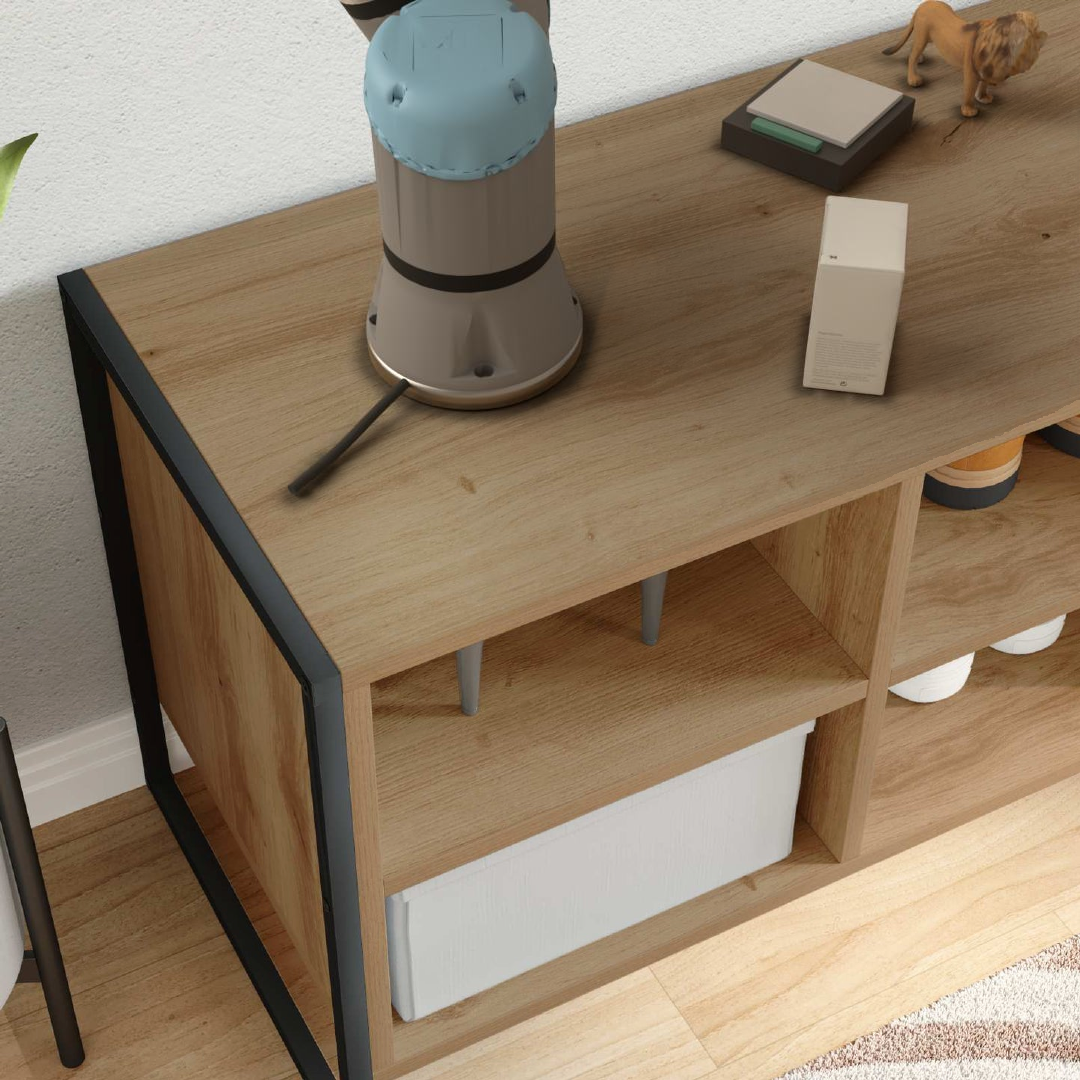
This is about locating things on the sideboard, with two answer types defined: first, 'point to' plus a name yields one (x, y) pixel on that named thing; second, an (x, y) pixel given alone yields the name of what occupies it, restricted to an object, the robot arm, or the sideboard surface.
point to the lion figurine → (974, 47)
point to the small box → (856, 294)
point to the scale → (818, 124)
